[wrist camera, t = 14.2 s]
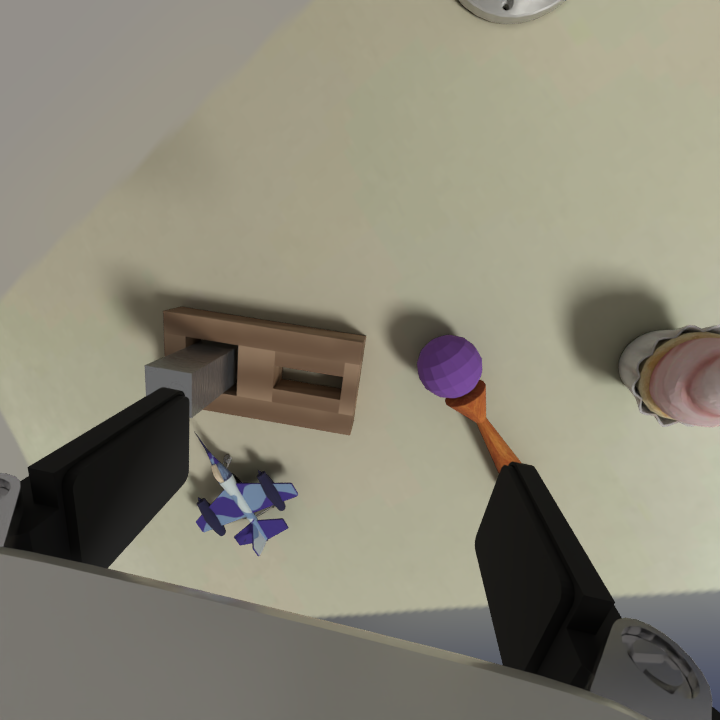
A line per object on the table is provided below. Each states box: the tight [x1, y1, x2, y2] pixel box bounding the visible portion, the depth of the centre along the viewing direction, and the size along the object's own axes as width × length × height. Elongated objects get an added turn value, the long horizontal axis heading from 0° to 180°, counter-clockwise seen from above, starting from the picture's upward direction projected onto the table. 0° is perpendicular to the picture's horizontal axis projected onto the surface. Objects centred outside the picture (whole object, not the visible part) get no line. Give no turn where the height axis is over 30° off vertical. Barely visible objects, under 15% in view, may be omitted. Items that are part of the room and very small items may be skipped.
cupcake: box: [619, 325, 720, 427], centre depth 29 cm, size 9×9×10 cm
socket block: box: [163, 307, 366, 435], centre depth 37 cm, size 10×20×3 cm, turn 82°
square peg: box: [145, 340, 239, 418], centre depth 34 cm, size 4×4×10 cm
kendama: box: [417, 335, 521, 473], centre depth 35 cm, size 6×6×20 cm
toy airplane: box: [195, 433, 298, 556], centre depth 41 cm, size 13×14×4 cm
